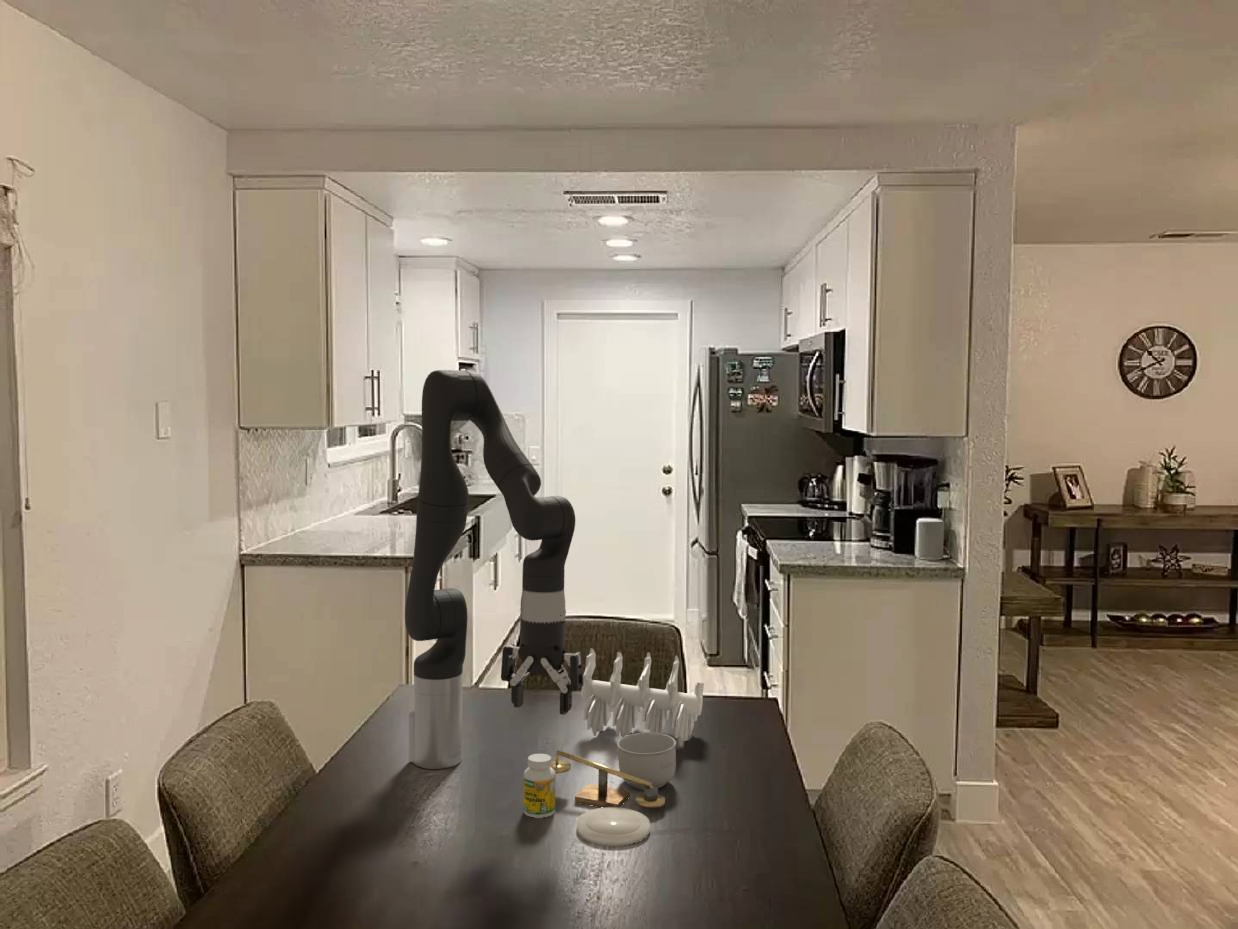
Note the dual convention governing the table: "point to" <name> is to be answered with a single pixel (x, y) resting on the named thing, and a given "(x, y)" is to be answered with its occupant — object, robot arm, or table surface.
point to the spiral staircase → (638, 701)
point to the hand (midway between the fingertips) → (541, 710)
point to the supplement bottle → (539, 787)
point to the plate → (613, 826)
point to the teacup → (647, 757)
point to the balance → (602, 793)
